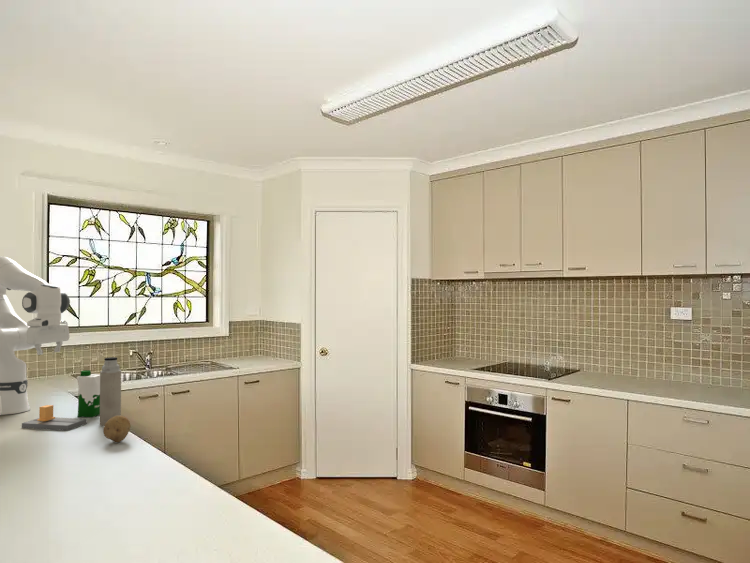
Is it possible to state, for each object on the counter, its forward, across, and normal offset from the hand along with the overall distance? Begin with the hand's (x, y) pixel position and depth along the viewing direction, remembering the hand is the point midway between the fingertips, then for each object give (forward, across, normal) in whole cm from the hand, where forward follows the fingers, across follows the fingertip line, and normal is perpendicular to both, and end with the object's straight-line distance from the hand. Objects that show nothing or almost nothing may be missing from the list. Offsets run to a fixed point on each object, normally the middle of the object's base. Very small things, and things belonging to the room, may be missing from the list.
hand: (48, 353), depth 226 cm
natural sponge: (+29, +24, +51) cm, 63 cm away
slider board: (+29, +7, +10) cm, 31 cm away
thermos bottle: (+29, 0, +30) cm, 42 cm away
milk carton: (+29, -12, +11) cm, 33 cm away
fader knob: (+27, +7, +6) cm, 28 cm away
